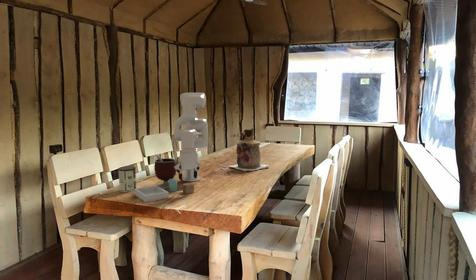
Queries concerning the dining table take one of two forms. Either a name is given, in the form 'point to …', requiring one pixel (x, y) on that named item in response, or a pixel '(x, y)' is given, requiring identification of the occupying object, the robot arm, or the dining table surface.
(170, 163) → the mate gourd
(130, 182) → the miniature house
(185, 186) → the walnut cube
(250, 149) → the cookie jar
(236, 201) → the dining table surface
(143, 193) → the grey tote
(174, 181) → the teal rounded capsule
